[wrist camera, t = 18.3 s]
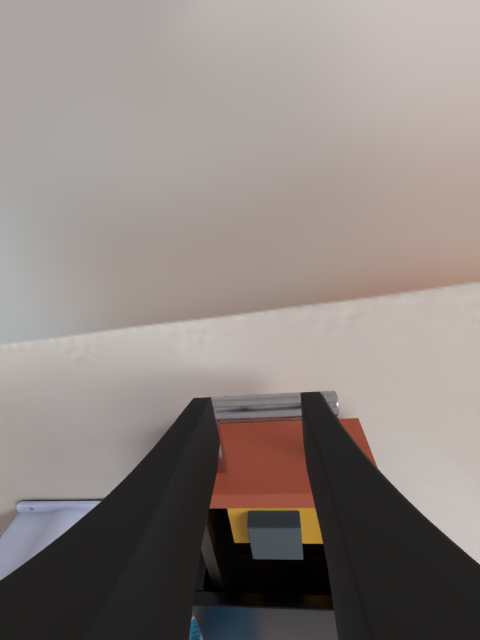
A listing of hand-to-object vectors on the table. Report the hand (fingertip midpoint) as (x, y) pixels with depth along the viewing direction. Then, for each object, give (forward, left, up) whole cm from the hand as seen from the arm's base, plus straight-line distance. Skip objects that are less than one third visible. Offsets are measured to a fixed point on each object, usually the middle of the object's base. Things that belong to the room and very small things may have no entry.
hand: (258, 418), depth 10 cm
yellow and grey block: (0, -13, -7) cm, 15 cm away
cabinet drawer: (0, -12, -8) cm, 15 cm away
